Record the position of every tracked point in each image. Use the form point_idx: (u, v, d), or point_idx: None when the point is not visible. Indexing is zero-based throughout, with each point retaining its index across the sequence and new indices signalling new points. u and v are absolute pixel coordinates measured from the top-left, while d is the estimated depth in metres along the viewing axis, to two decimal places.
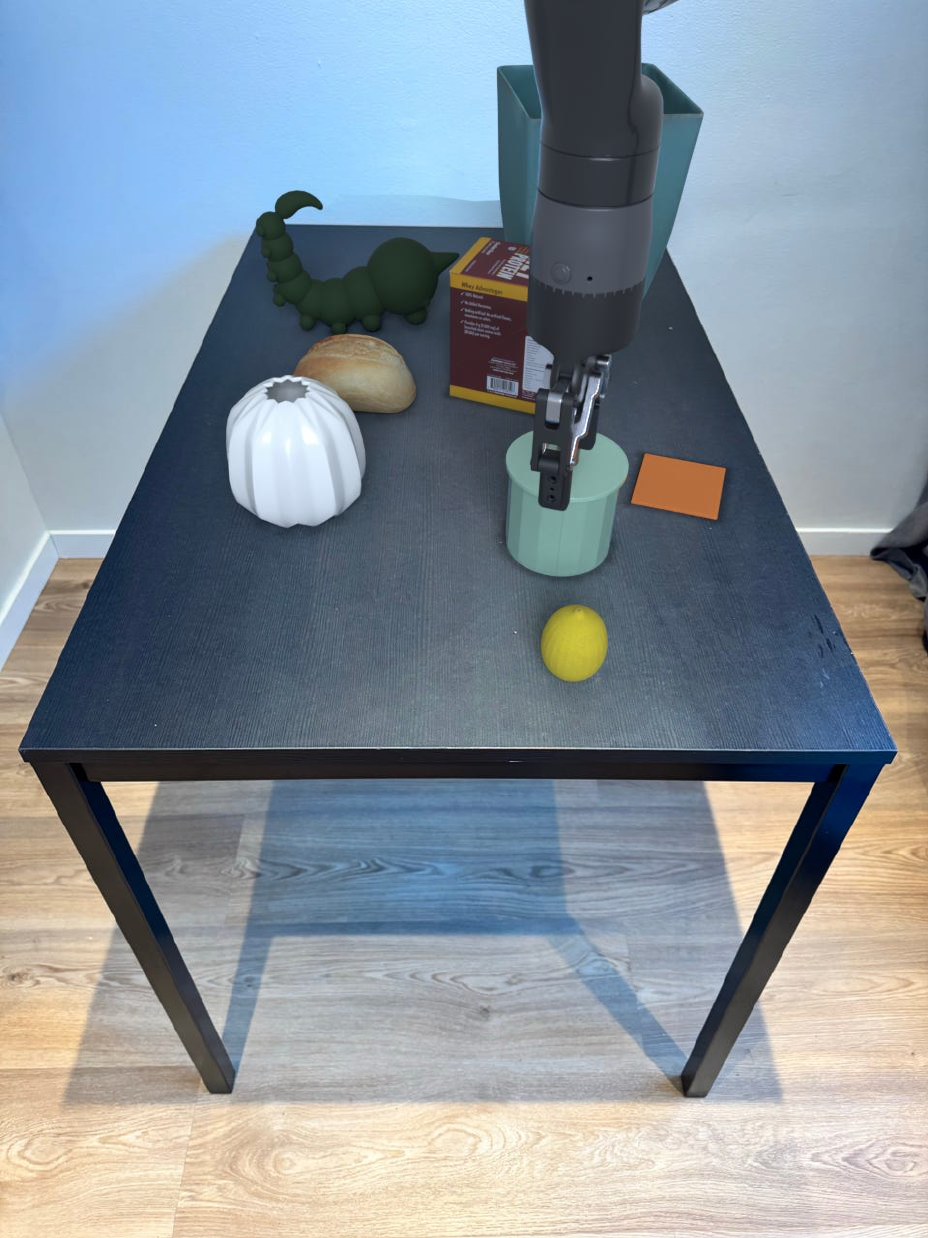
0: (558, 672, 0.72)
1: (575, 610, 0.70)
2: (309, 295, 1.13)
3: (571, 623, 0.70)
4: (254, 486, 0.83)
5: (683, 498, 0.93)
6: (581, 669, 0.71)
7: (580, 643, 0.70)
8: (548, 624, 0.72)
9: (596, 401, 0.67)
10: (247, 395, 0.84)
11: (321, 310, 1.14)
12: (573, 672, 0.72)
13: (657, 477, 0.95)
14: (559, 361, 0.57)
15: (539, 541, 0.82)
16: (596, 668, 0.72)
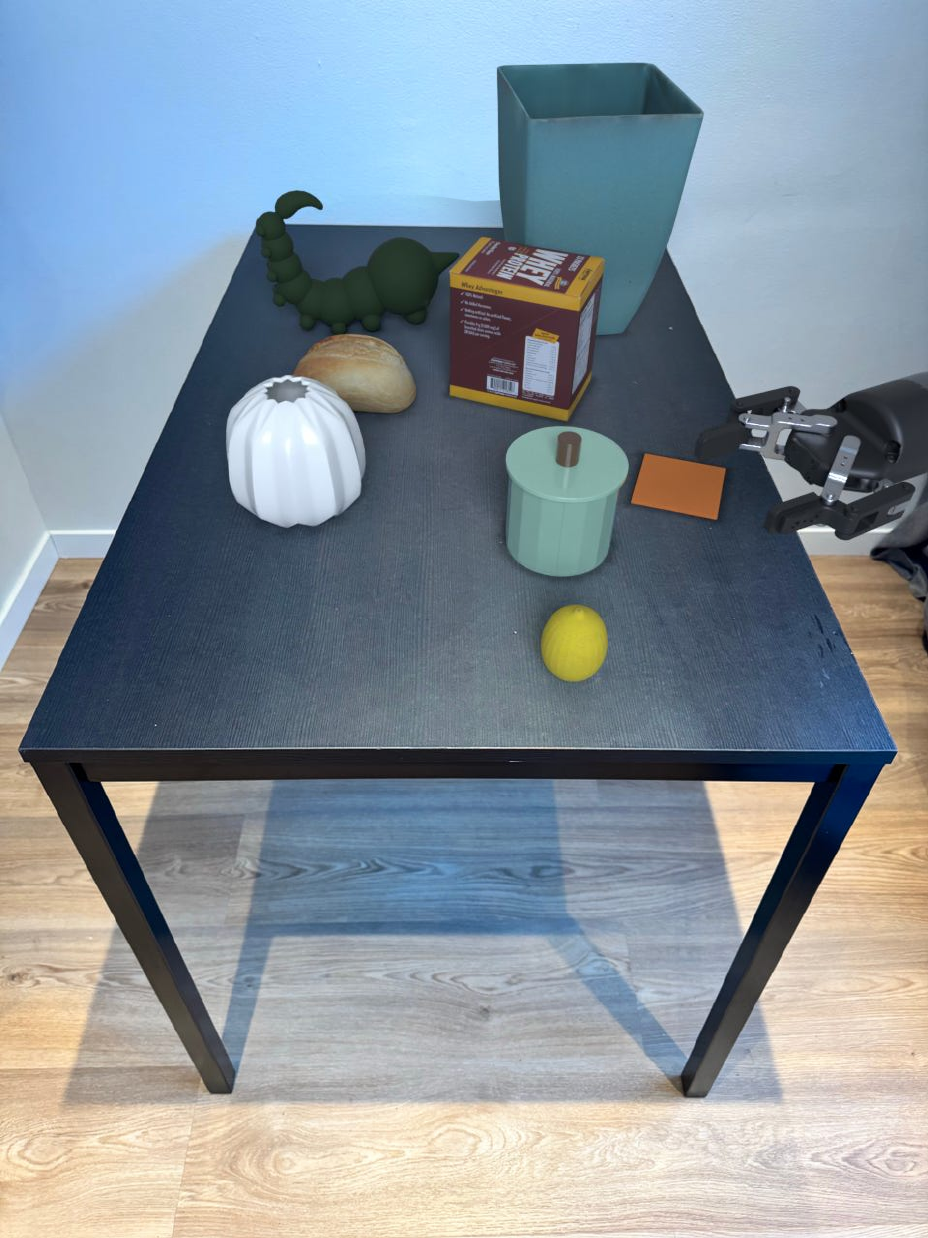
0: (558, 672, 0.72)
1: (575, 610, 0.70)
2: (309, 295, 1.13)
3: (571, 623, 0.70)
4: (254, 486, 0.83)
5: (683, 498, 0.93)
6: (581, 669, 0.71)
7: (580, 643, 0.70)
8: (548, 624, 0.72)
9: (821, 493, 0.61)
10: (247, 395, 0.84)
11: (321, 310, 1.14)
12: (573, 672, 0.72)
13: (657, 477, 0.95)
14: None
15: (539, 541, 0.82)
16: (596, 668, 0.72)
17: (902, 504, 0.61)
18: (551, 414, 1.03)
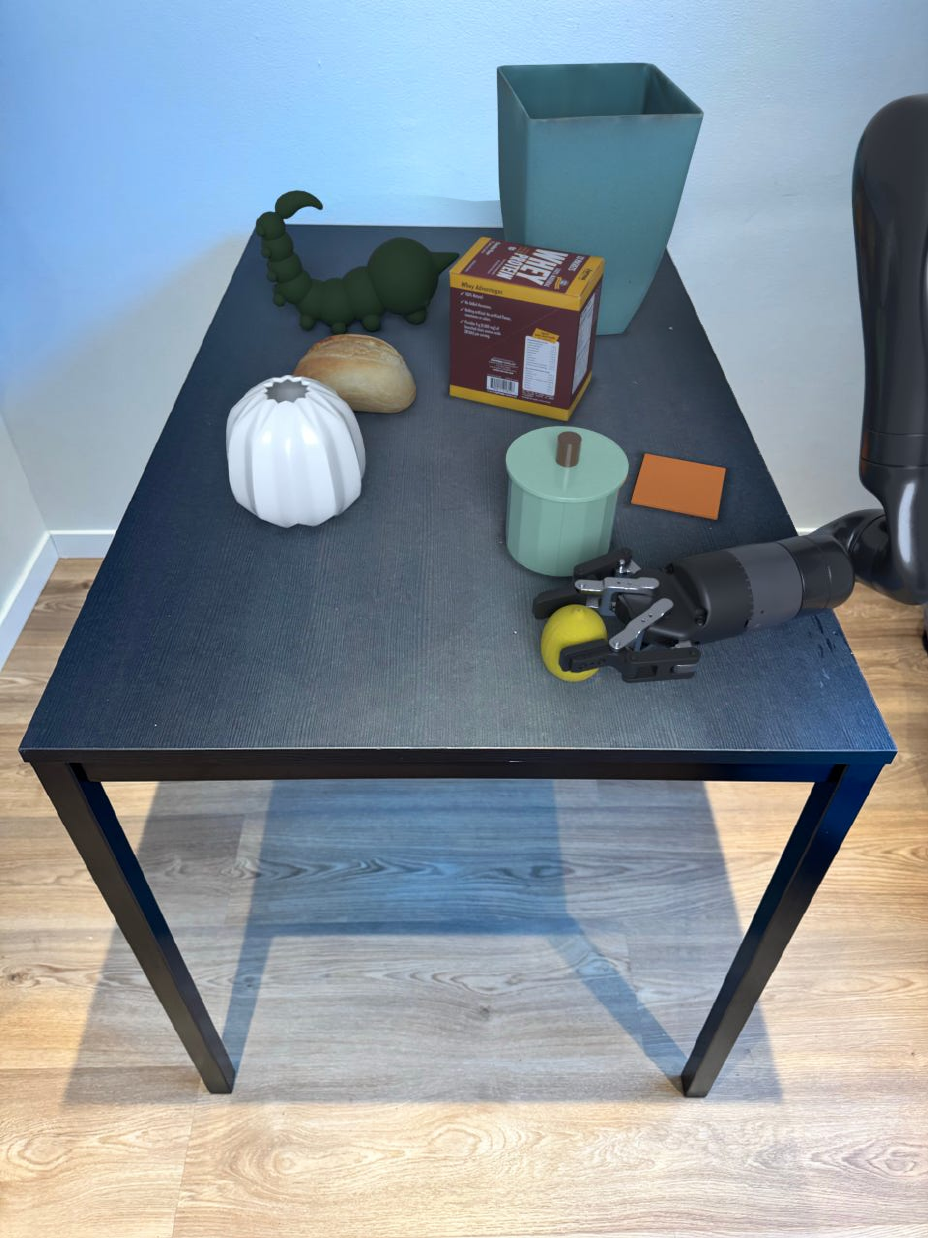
0: (558, 672, 0.72)
1: (575, 610, 0.70)
2: (309, 295, 1.13)
3: (570, 623, 0.70)
4: (254, 486, 0.83)
5: (683, 498, 0.93)
6: None
7: (579, 642, 0.70)
8: (548, 624, 0.72)
9: None
10: (247, 395, 0.84)
11: (321, 310, 1.14)
12: None
13: (657, 477, 0.95)
14: None
15: (539, 541, 0.82)
16: None
17: (686, 666, 0.69)
18: (551, 414, 1.03)
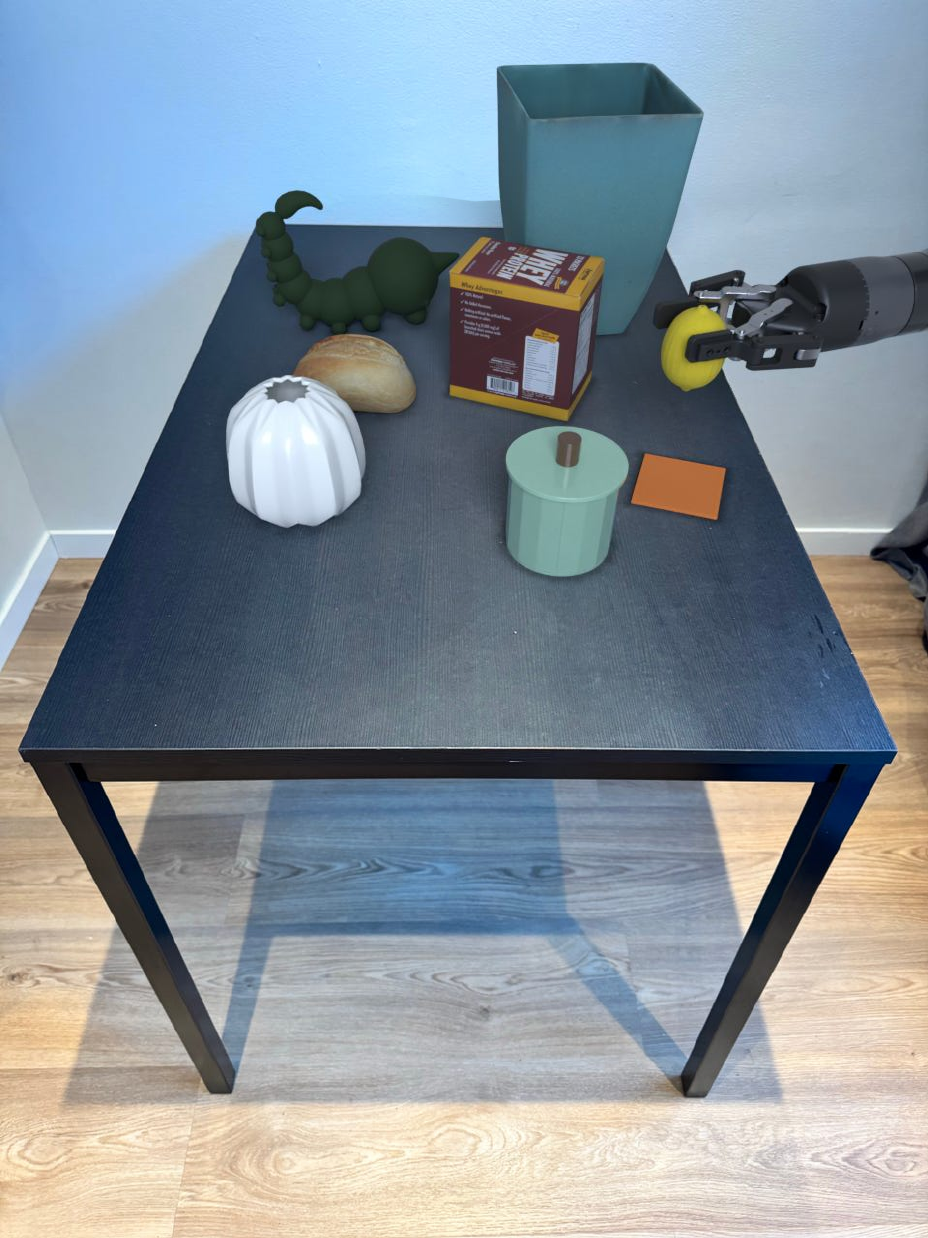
0: (680, 373, 0.75)
1: (699, 306, 0.73)
2: (309, 295, 1.13)
3: (695, 318, 0.73)
4: (254, 486, 0.83)
5: (683, 498, 0.93)
6: (704, 366, 0.74)
7: None
8: (671, 325, 0.75)
9: None
10: (247, 395, 0.84)
11: (321, 310, 1.14)
12: (696, 370, 0.75)
13: (657, 477, 0.95)
14: None
15: (539, 541, 0.82)
16: (717, 369, 0.75)
17: (809, 351, 0.72)
18: (551, 414, 1.03)
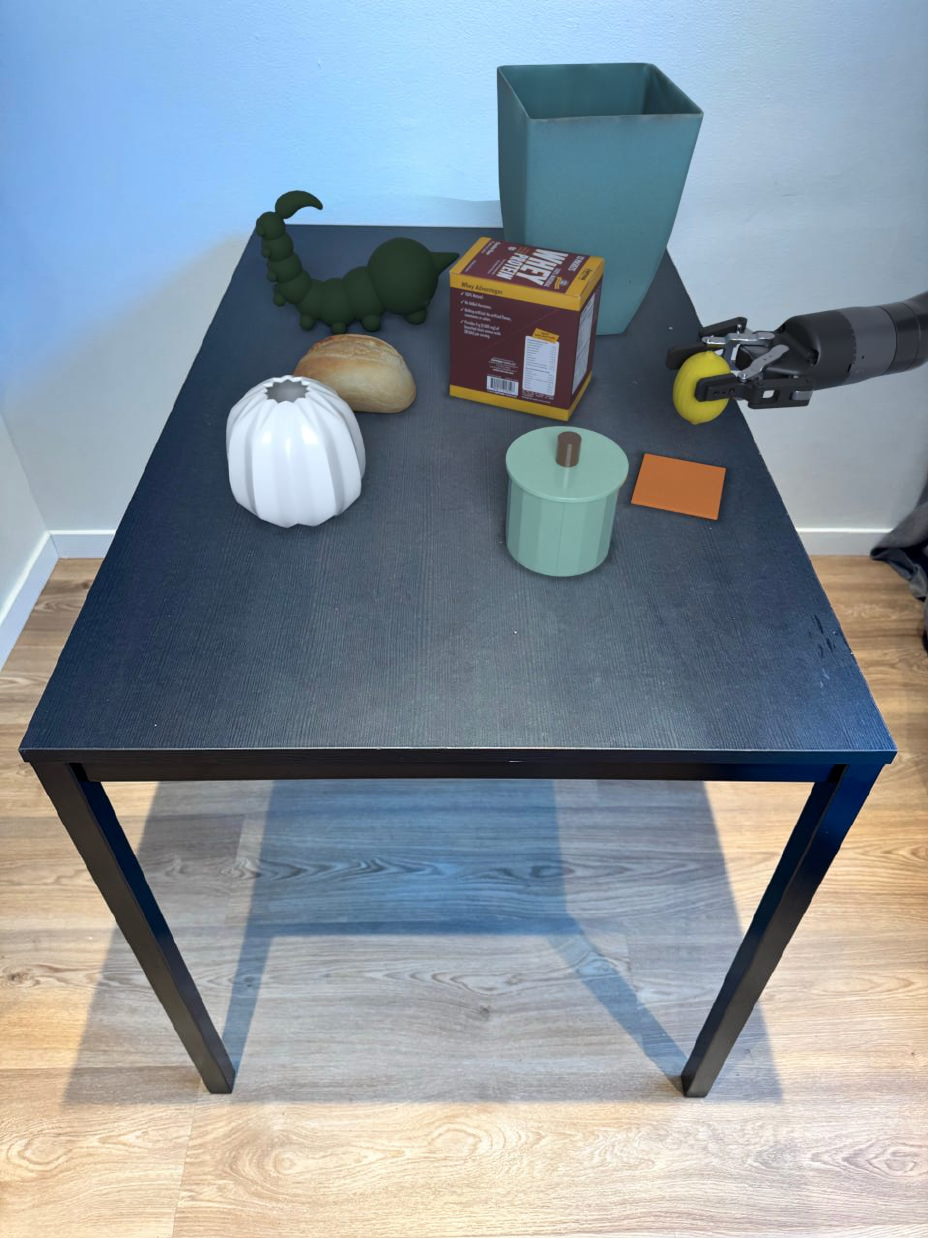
0: (690, 410, 0.86)
1: (707, 352, 0.84)
2: (309, 295, 1.13)
3: (703, 362, 0.83)
4: (254, 486, 0.83)
5: (683, 498, 0.93)
6: (710, 404, 0.85)
7: None
8: (682, 368, 0.85)
9: None
10: (247, 395, 0.84)
11: (321, 310, 1.14)
12: (704, 408, 0.85)
13: (657, 477, 0.95)
14: None
15: (539, 541, 0.82)
16: (722, 406, 0.85)
17: (803, 392, 0.82)
18: (551, 414, 1.03)
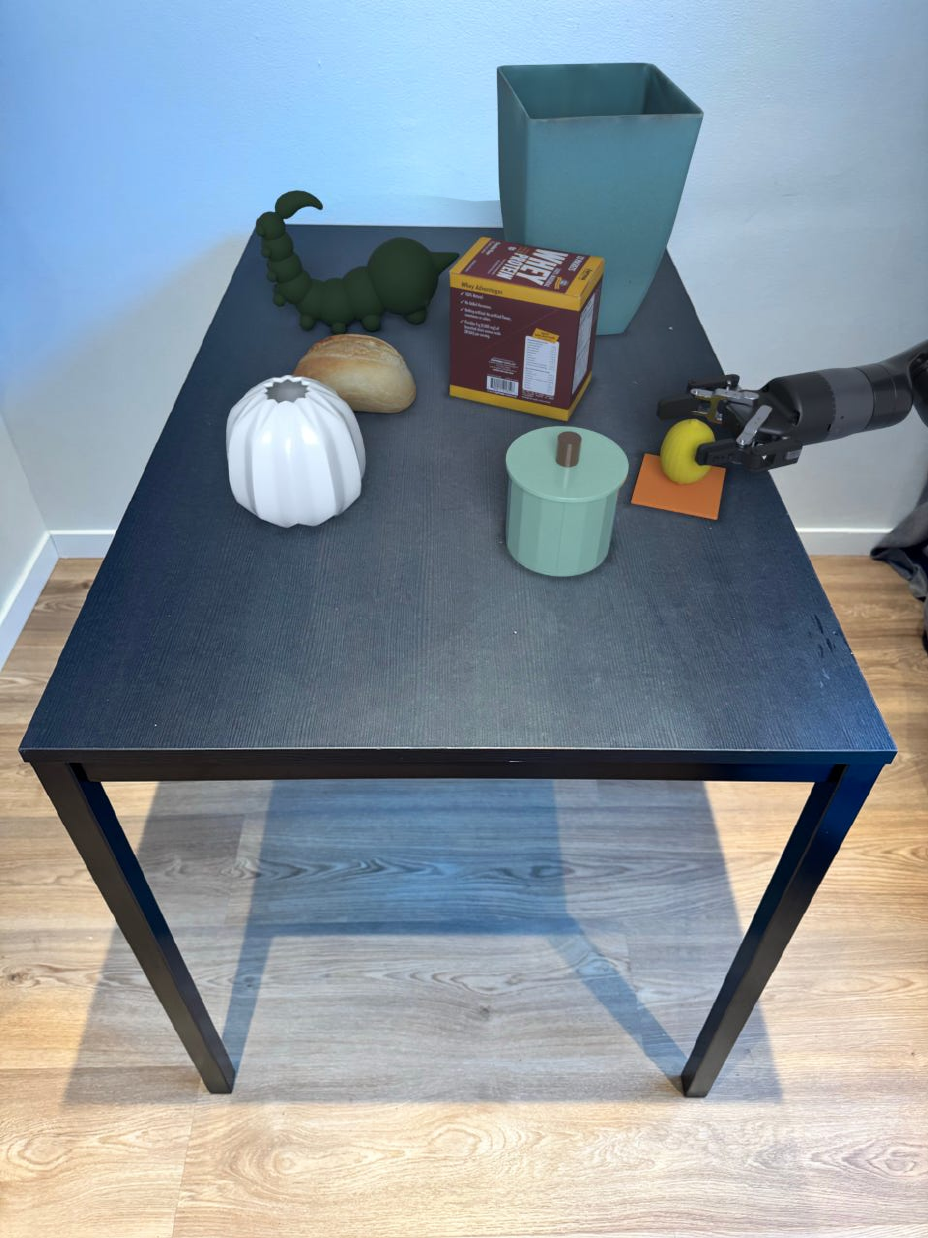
0: (676, 473, 0.91)
1: (692, 420, 0.89)
2: (309, 295, 1.13)
3: (689, 430, 0.89)
4: (254, 486, 0.83)
5: (683, 498, 0.93)
6: (695, 469, 0.90)
7: (696, 444, 0.89)
8: (668, 434, 0.91)
9: None
10: (247, 395, 0.84)
11: (321, 310, 1.14)
12: (689, 472, 0.90)
13: (657, 477, 0.95)
14: None
15: (539, 541, 0.82)
16: (706, 470, 0.91)
17: (795, 452, 0.87)
18: (551, 414, 1.03)
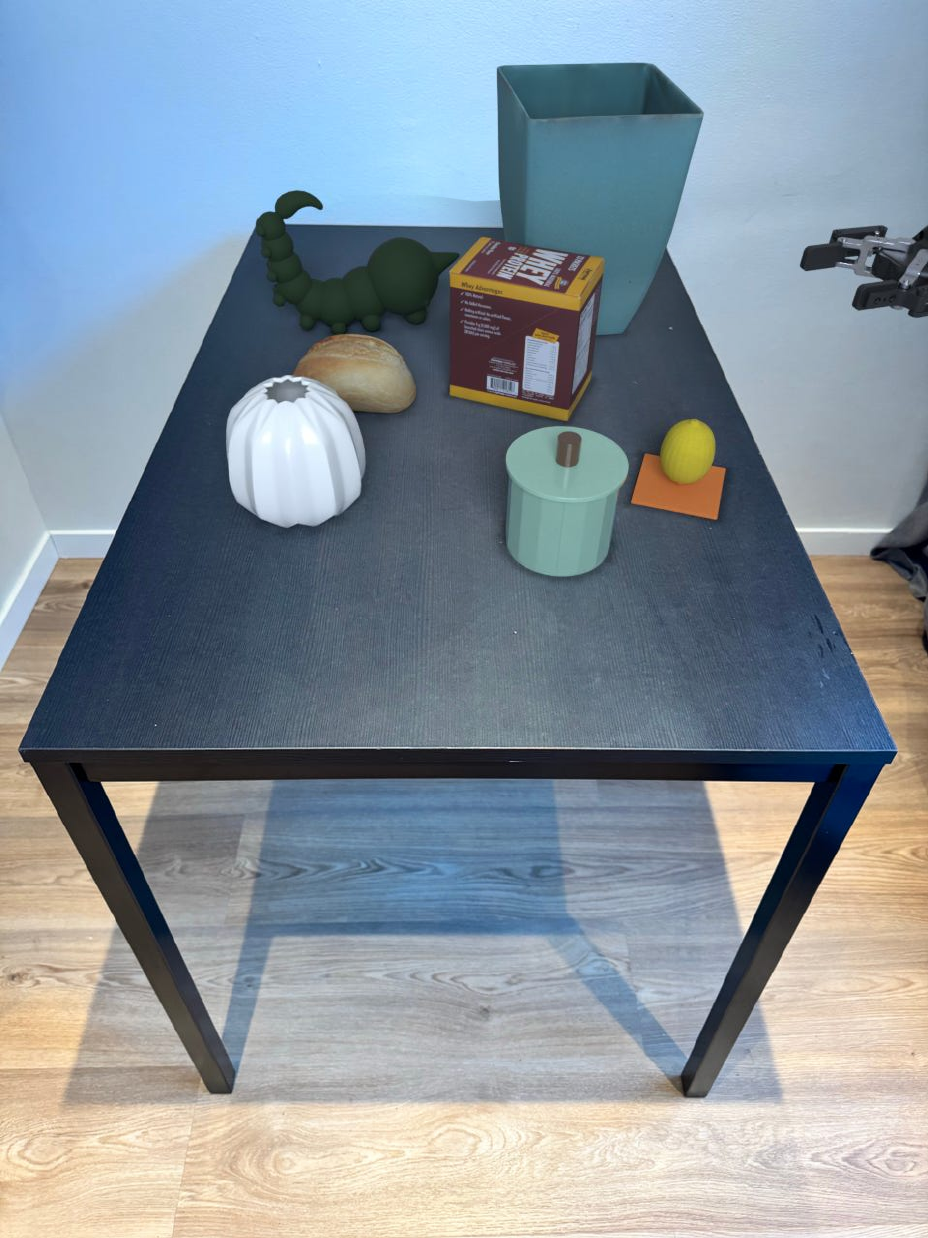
0: (676, 473, 0.91)
1: (692, 420, 0.89)
2: (309, 295, 1.13)
3: (688, 430, 0.89)
4: (254, 486, 0.83)
5: (683, 498, 0.93)
6: (695, 469, 0.90)
7: (696, 444, 0.89)
8: (668, 434, 0.91)
9: (899, 281, 0.79)
10: (247, 395, 0.84)
11: (321, 310, 1.14)
12: (689, 471, 0.90)
13: (657, 477, 0.95)
14: None
15: (539, 541, 0.82)
16: (706, 470, 0.91)
17: None
18: (551, 414, 1.03)
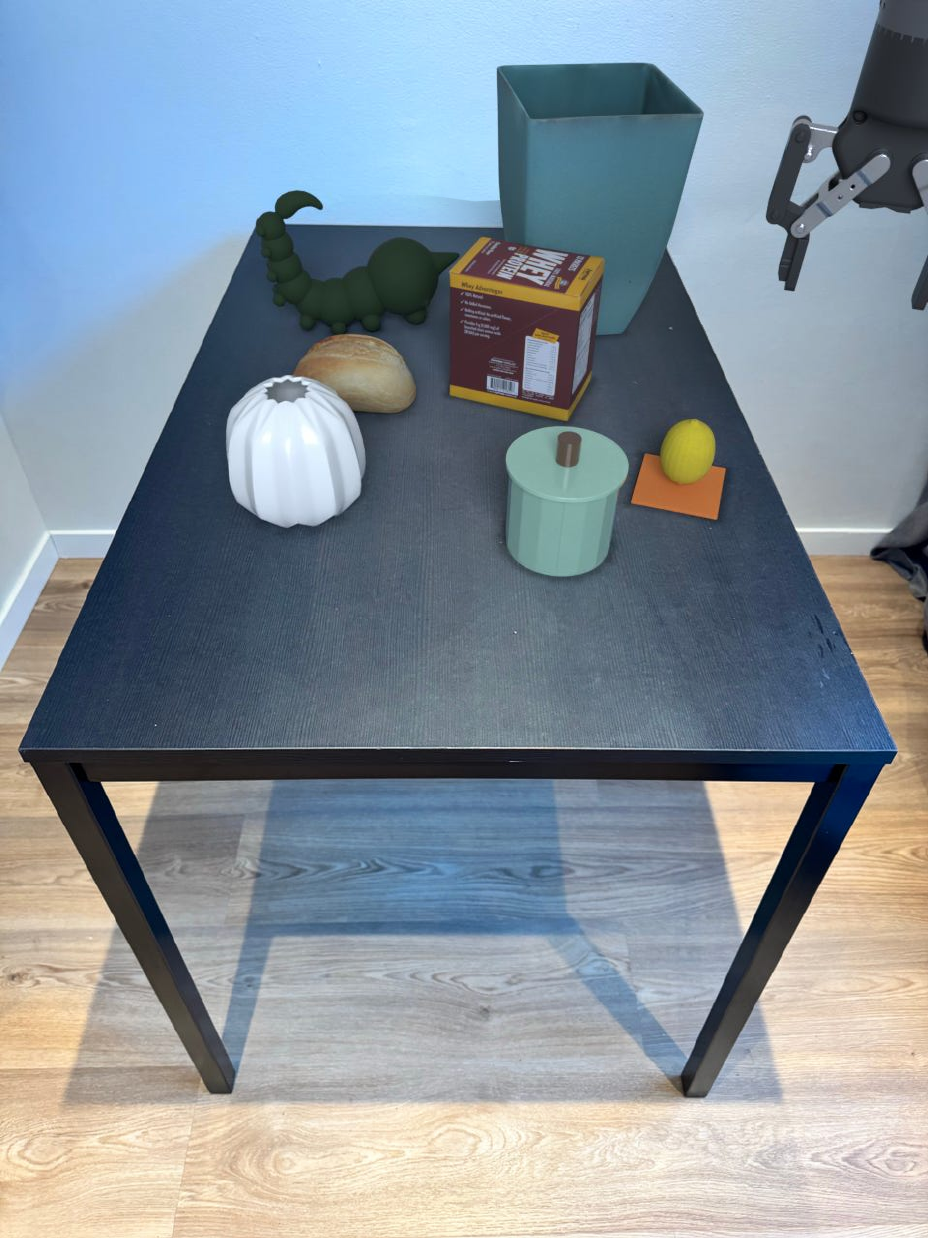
0: (676, 473, 0.91)
1: (692, 420, 0.89)
2: (309, 295, 1.13)
3: (688, 430, 0.89)
4: (254, 486, 0.83)
5: (683, 498, 0.93)
6: (695, 469, 0.90)
7: (696, 444, 0.89)
8: (668, 434, 0.91)
9: None
10: (247, 395, 0.84)
11: (321, 310, 1.14)
12: (689, 471, 0.90)
13: (657, 477, 0.95)
14: None
15: (539, 541, 0.82)
16: (706, 470, 0.91)
17: None
18: (551, 414, 1.03)
